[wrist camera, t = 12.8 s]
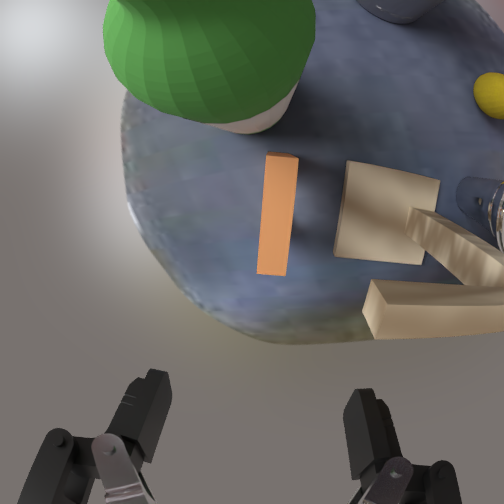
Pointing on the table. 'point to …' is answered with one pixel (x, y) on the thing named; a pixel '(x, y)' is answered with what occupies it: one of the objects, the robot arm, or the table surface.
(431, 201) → the hook stand
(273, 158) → the c link
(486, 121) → the table surface
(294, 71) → the wine bottle
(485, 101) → the lemon
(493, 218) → the cup with straw
